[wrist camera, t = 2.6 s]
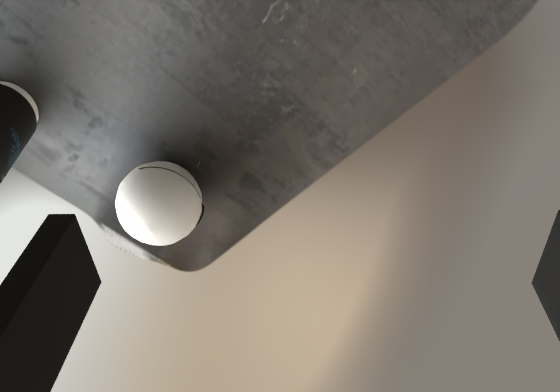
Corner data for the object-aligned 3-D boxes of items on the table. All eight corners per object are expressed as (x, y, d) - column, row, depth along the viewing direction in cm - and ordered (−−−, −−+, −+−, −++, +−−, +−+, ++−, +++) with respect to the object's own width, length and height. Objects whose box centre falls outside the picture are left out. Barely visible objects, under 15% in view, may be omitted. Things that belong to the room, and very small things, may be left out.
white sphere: (171, 223, 48) (151, 276, 42) (113, 172, 45) (83, 222, 39) (247, 172, 44) (238, 223, 38) (190, 113, 41) (170, 158, 35)
